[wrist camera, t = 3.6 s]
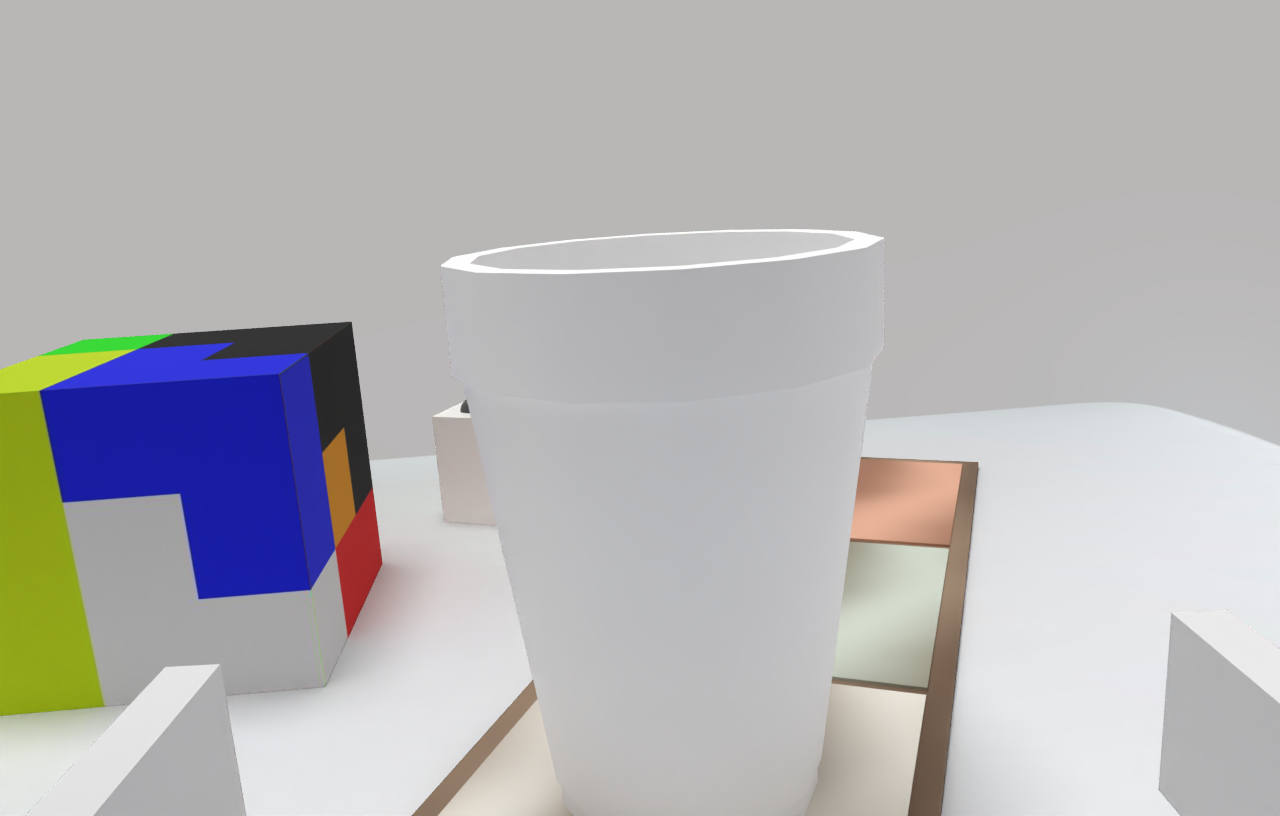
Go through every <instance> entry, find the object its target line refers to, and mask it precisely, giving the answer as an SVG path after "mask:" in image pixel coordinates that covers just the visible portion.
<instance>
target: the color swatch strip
mask: <svg viewBox="0 0 1280 816" xmlns="http://www.w3.org/2000/svg"><path fill="white" fill-rule="evenodd" d="M977 472H978V462H960V461H937V460H915V459H892V458H869V457H861V459H860V467H859V474H858V482H857V490H856V497H855V505H854V513H853V520H852V528H851V536H850V543H849V551H848V559H847V566H846V574H845V582H844V590H843V597H842V605H841V613H840V620H839V628H838V636H837V643H836V651H835V659H834V666H833V674H832V682H831V689H830V697H829V705H828V712H827V720H826V728H825V736H824V743H823V751H822V758H821V761H820V763H819V766H818V782H817V785H816V787H815V790H814V793H813V795H812V798H811V800H810V803H809V806H808V808H807V811H806V814H805V816H941V809H942V800H943V790H944V781H945V772H946V762H947V753H948V743H949V734H950V725H951V715H952V706H953V697H954V687H955V678H956V669H957V659H958V650H959V641H960V631H961V622H962V612H963V603H964V594H965V584H966V575H967V566H968V556H969V547H970V538H971V528H972V519H973V510H974V500H975V491H976V481H977ZM412 816H573V815H572V814H571V812H570V811H569V810H568V809H567V808H566V806H565V805H564V804H563V795H562V786H561V785H560V784H559V782H558V781H557V778H556V774H555V770H554V765H553V761H552V757H551V753H550V748H549V744H548V740H547V736H546V732H545V727H544V723H543V719H542V715H541V711H540V706H539V702H538V698H537V694H536V689H535V685H534V681H533V680H532V682H531V683H530V684H529V685H528V686H527V687H526V688H525V689H524V691H523V692H522V693H521V694H520V695H519V696H518V697H517V698H516V699H515V701H514V702H513V703H512V704H511V705H510V706H509V707H508V708H507V710H506V711H505V712H504V713H503V714H502V715H501V716H500V717H499V719H498V720H497V721H496V722H495V723H494V724H493V725H492V726H491V727H490V729H489V730H488V731H487V732H486V733H485V734H484V735H483V736H482V738H481V739H480V740H479V741H478V742H477V743H476V744H475V745H474V747H473V748H472V749H471V750H470V751H469V752H468V753H467V754H466V755H465V757H464V758H463V759H462V760H461V761H460V762H459V763H458V764H457V766H456V767H455V768H454V769H453V770H452V771H451V772H450V773H449V775H448V776H447V777H446V778H445V779H444V780H443V781H442V782H441V783H440V785H439V786H438V787H437V788H436V789H435V790H434V791H433V792H432V794H431V795H430V796H429V797H428V798H427V799H426V800H425V801H424V803H423V804H422V805H421V806H420V807H419V808H418V809H417V810H416V812H415V813H414V814H413V815H412Z"/></svg>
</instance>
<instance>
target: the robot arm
mask: <svg viewBox="0 0 1280 816" xmlns="http://www.w3.org/2000/svg"><path fill="white" fill-rule="evenodd" d="M1159 791H1160V792H1161V793H1162V794H1163V796H1164V797H1165V798H1166V799H1167V800H1168V802H1169V803H1170V804H1171V805H1172V806H1173V808H1174V809H1175V810H1176V811H1177V812H1178V814H1179V815H1180V816H1280V649H1279V648H1278V647H1277V646H1275V645H1274V644H1273V643H1271V642H1270V641H1269V640H1267V639H1266V638H1265V637H1263V636H1262V635H1261V634H1259V633H1258V632H1257V631H1255V630H1254V629H1253V628H1251V627H1250V626H1249V625H1247V624H1246V623H1245V622H1243V621H1242V620H1241V619H1239V618H1238V617H1237V616H1235V615H1234V614H1233V613H1232V612H1230V611H1229V610H1212V611H1194V612H1175V613H1171V627H1170V640H1169V654H1168V668H1167V681H1166V695H1165V709H1164V723H1163V736H1162V750H1161V764H1160V777H1159ZM25 816H246V811H245V805H244V799H243V793H242V788H241V782H240V776H239V770H238V764H237V759H236V753H235V747H234V741H233V736H232V730H231V724H230V718H229V712H228V707H227V701H226V695H225V689H224V683H223V678H222V672H221V666H220V664H212V665H194V666H175V667H165V668H164V669H163V670H162V671H161V672H160V673H159V674H158V675H157V676H156V677H155V678H154V680H153V681H152V682H151V683H150V684H149V685H148V686H147V687H146V688H145V689H144V690H143V691H142V692H141V693H140V694H139V695H138V697H137V698H136V699H135V700H134V701H133V702H132V703H131V704H130V705H129V706H128V707H127V708H126V709H125V710H124V711H123V712H122V713H121V715H120V716H119V717H118V718H117V719H116V720H115V721H114V722H113V723H112V724H111V725H110V726H109V727H108V728H107V729H106V730H105V732H104V733H103V734H102V735H101V736H100V737H99V738H98V739H97V740H96V741H95V742H94V743H93V744H92V745H91V746H90V747H89V748H88V750H87V751H86V752H85V753H84V754H83V755H82V756H81V757H80V758H79V759H78V760H77V761H76V762H75V763H74V764H73V765H72V767H71V768H70V769H69V770H68V771H67V772H66V773H65V774H64V775H63V776H62V777H61V778H60V779H59V780H58V781H57V782H56V783H55V785H54V786H53V787H52V788H51V789H50V790H49V791H48V792H47V793H46V794H45V795H44V796H43V797H42V798H41V799H40V800H39V801H38V803H37V804H36V805H35V806H34V807H33V808H32V809H31V810H30V811H29V812H28V813H27V814H26V815H25Z"/></svg>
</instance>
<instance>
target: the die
mask: <svg viewBox="0 0 1280 816" xmlns="http://www.w3.org/2000/svg"><path fill="white" fill-rule="evenodd" d="M432 419H433V428H434V437H435V446H436V455H437V463H438V472H439V481H440V490H441V499H442V508H443V517H444V522H451V523H464V524H477V525H491V526H497V525H496V521H495V517H494V512H493V508H492V504H491V500H490V496H489V491H488V487H487V483H486V479H485V474H484V470H483V466H482V462H481V458H480V453H479V449H478V445H477V441H476V437H475V432H474V428H473V424H472V420H471V415H470V411H469V407H468V403H467V400H465V401H464V402H462V403H460V404H458V405H456V406H454V407H452V408H449V409H447V410H445V411H443V412H441V413H439V414H437V415H435V416H433V417H432Z"/></svg>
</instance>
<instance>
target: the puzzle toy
mask: <svg viewBox="0 0 1280 816" xmlns="http://www.w3.org/2000/svg"><path fill="white" fill-rule="evenodd" d="M352 330H353V329H352V322H342V323H328V324H311V325H297V326H283V327H268V328H252V329H237V330H223V331H208V332H194V333H179V334H164V335H149V336H135V337H119V338H104V339H89V340H82V341H79V342H76V343H74V344H71V345H68V346H65V347H62V348H59V349H57V350H54V351H51V352H48V353H46V354H43V355H40V356H37V357H34V358H31V359H29V360H26V361H23V362H20V363H17V364H15V365H12V366H9V367H6V368H3V369H1V370H0V716H4V715H15V714H27V713H38V712H49V711H60V710H72V709H83V708H94V707H106V706H117V705H128V704H131V703H132V702H133V701H134V700H135V699H136V698H137V697H138V695H139V694H140V693H141V692H142V691H143V690H144V689H145V688H146V687H147V686H148V685H149V684H150V683H151V682H152V681H153V680H154V678H155V677H156V676H157V675H158V674H159V673H160V672H161V671H162V670H163V669H164V668H165V667H175V666H194V665H212V664H220V666H221V672H222V678H223V683H224V689H225V695H226V696H230V695H241V694H252V693H264V692H275V691H286V690H298V689H309V688H320V687H326V685H327V682H328V680H329V678H330V676H331V674H332V672H333V669H334V667H335V665H336V663H337V661H338V659H339V656H340V654H341V652H342V650H343V648H344V646H345V643H346V641H347V639H348V637H349V635H350V633H351V630H352V628H353V626H354V624H355V622H356V620H357V617H358V615H359V613H360V611H361V609H362V607H363V604H364V602H365V600H366V598H367V596H368V594H369V591H370V589H371V587H372V585H373V583H374V580H375V578H376V576H377V574H378V572H379V570H380V567H381V565H382V557H381V549H380V541H379V533H378V526H377V518H376V510H375V502H374V494H373V486H372V479H371V471H370V463H369V455H368V447H367V439H366V433H365V432H366V431H365V424H364V416H363V408H362V400H361V392H360V385H359V376H358V369H357V361H356V353H355V345H354V338H353V331H352Z"/></svg>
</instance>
